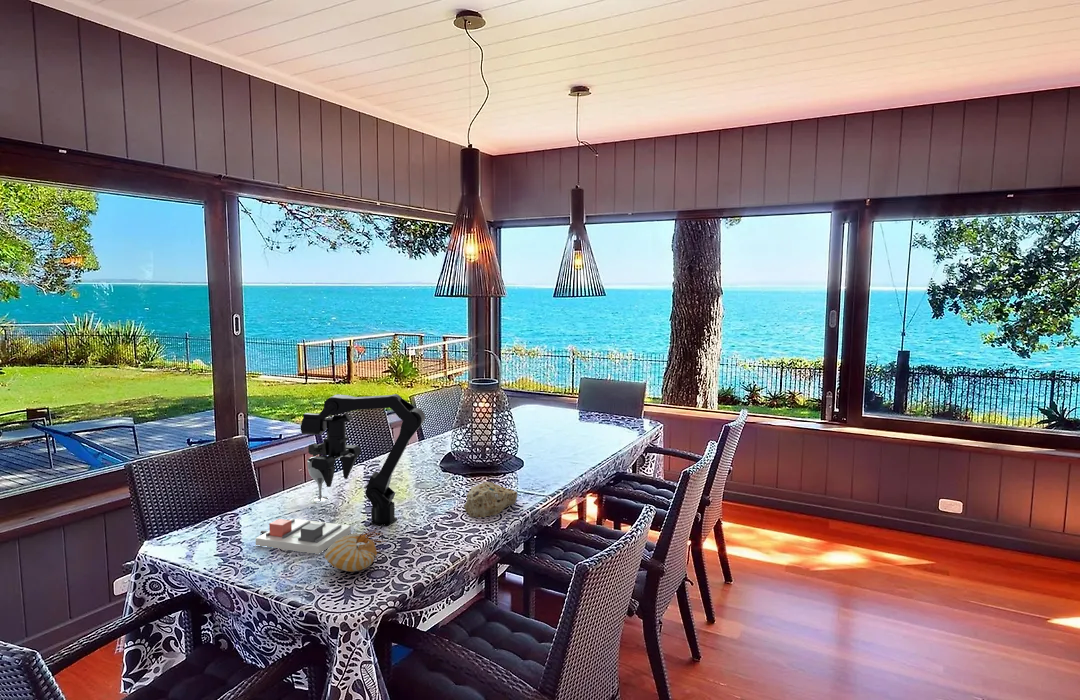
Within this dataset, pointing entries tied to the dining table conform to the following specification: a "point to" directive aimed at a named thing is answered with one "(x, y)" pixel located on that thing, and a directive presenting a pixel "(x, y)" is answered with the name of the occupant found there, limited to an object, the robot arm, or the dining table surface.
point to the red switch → (280, 527)
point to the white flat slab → (295, 543)
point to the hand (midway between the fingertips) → (337, 482)
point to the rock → (488, 499)
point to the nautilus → (352, 552)
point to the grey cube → (311, 532)
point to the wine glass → (316, 479)
